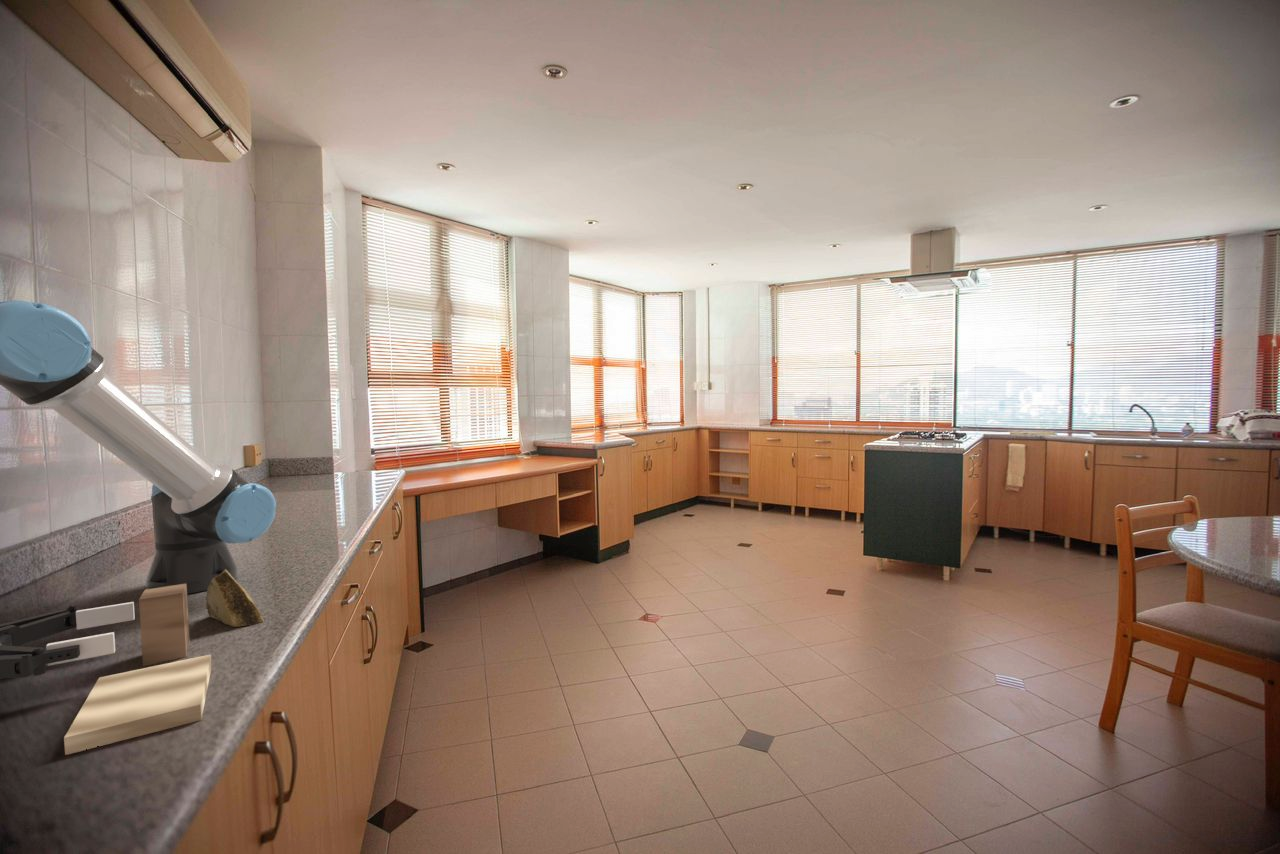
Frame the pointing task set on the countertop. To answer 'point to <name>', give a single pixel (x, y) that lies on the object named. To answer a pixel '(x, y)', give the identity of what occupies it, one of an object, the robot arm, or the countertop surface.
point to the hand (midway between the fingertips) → (125, 625)
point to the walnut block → (164, 624)
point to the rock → (231, 602)
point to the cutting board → (140, 703)
